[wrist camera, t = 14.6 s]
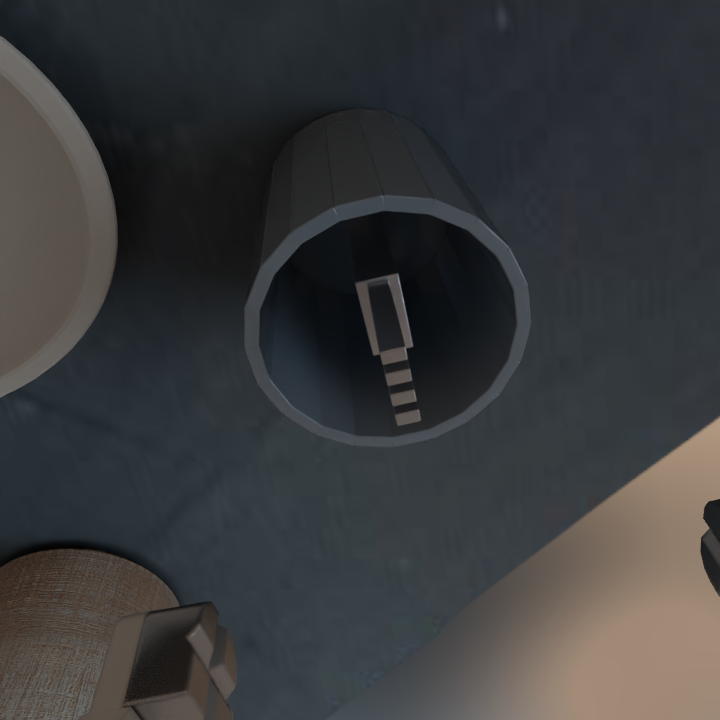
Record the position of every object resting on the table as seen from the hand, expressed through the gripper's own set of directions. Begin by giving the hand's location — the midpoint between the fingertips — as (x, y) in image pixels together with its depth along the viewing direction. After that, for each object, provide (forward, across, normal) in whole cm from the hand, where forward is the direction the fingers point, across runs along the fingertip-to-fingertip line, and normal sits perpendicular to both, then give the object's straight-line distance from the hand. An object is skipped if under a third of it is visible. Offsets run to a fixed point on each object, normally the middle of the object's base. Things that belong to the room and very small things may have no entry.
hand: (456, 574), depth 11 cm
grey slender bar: (+17, 0, 0) cm, 17 cm away
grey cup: (+18, 0, 0) cm, 18 cm away
